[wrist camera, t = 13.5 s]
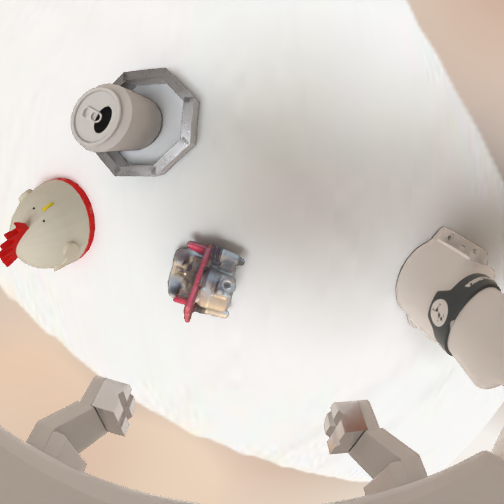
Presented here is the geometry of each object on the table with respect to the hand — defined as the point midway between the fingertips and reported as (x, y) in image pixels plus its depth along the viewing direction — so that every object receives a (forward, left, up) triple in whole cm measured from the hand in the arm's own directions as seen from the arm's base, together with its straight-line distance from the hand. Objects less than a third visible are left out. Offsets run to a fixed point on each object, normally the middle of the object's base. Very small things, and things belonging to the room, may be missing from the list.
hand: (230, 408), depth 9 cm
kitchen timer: (+30, +2, -29) cm, 42 cm away
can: (+16, -12, -29) cm, 36 cm away
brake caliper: (+5, +8, -29) cm, 31 cm away
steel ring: (+14, -12, -29) cm, 35 cm away
